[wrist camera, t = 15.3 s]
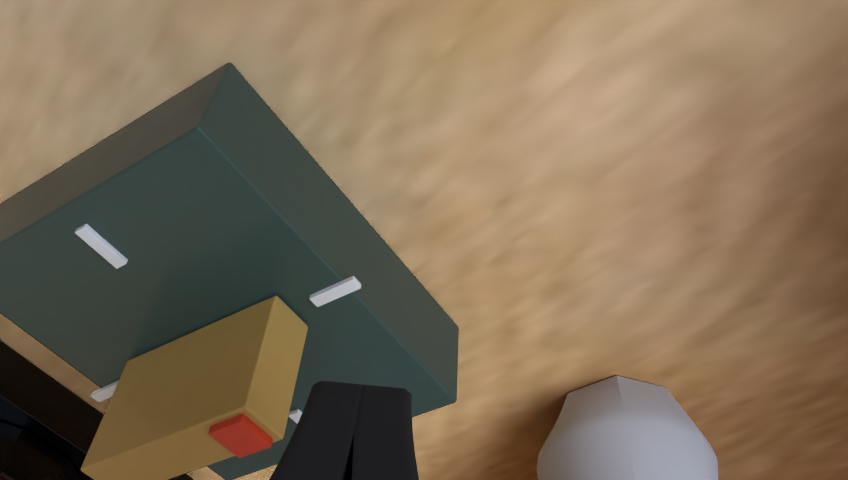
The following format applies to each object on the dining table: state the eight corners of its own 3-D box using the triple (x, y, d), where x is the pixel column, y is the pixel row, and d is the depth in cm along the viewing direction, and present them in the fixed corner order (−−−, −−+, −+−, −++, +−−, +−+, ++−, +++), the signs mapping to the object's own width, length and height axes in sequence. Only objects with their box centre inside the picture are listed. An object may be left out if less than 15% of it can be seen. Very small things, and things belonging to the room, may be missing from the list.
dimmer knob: (161, 387, 23) (116, 506, 20) (126, 360, 23) (74, 479, 20) (309, 326, 21) (282, 448, 18) (276, 293, 21) (243, 415, 18)
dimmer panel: (-9, 208, 23) (-66, 283, 21) (241, 53, 19) (207, 124, 17) (239, 412, 29) (218, 489, 27) (468, 323, 25) (468, 403, 23)
